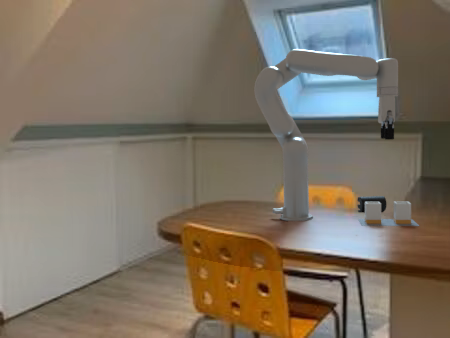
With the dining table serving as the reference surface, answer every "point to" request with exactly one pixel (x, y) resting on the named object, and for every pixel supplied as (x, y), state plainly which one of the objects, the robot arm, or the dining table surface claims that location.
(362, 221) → the pin board
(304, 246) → the dining table surface
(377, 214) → the seated sleeve
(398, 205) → the sleeve
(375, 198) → the end cap
